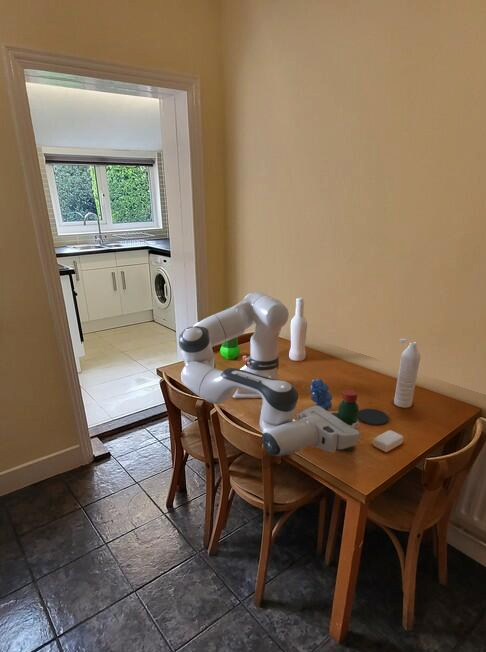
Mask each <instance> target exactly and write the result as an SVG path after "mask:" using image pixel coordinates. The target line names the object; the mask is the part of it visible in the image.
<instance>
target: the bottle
mask: <svg viewBox="0 0 486 652" xmlns="http://www.w3.org/2000/svg"><path fill="white" fill-rule="evenodd" d="M304 300H305V299H304V298H303V297H296V299H295V315H294V316H293V318H292V319H291V321H290V349H289V351H288V353H289V354H288V357H289V359H290V360H291V361H294V362H302V361H304V360H305V359H306V356H307V355H306V354H307V352H306V351H307V350H306V341H307V331H308V321H307V319H306V317H305V316H304V310H305V309H304V307H305V301H304Z"/></svg>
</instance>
